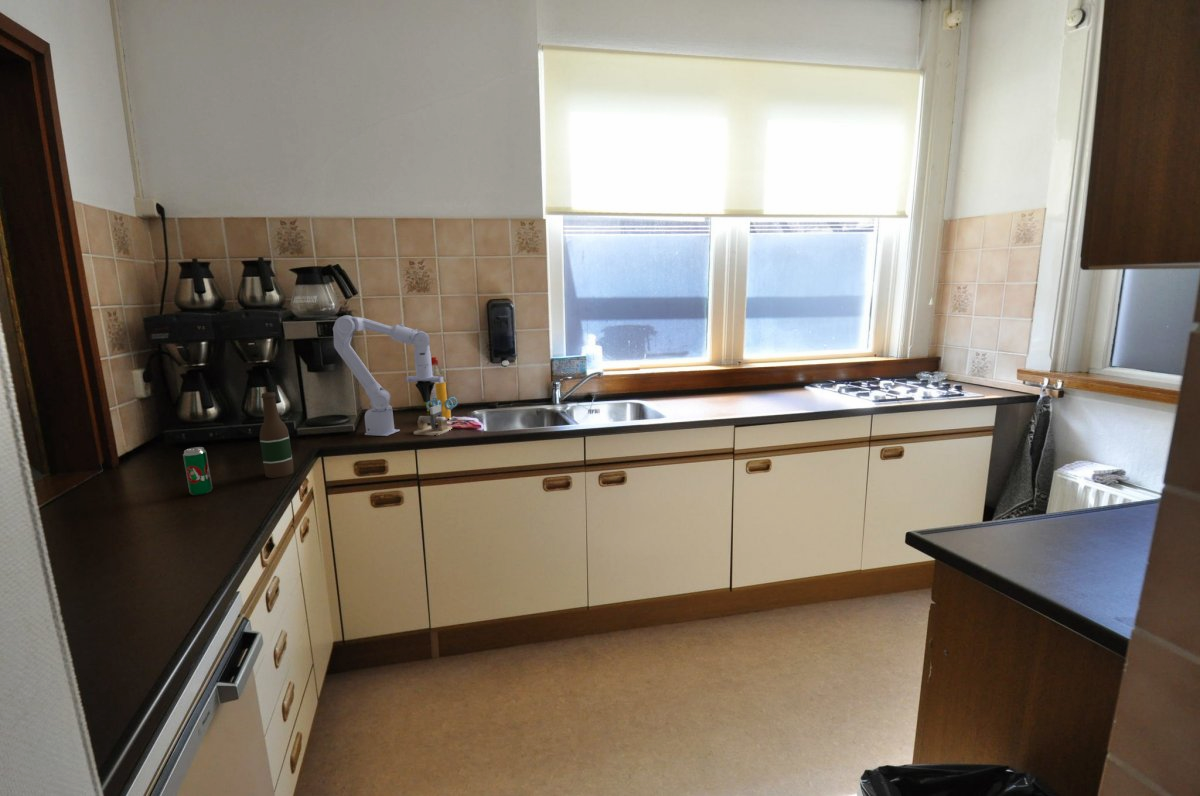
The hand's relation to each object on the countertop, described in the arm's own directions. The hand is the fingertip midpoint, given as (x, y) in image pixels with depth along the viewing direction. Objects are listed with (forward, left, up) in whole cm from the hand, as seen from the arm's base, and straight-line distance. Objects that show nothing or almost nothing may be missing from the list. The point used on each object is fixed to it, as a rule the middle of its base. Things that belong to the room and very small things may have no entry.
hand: (426, 401), depth 215 cm
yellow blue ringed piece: (-3, +14, -11) cm, 18 cm away
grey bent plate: (+6, -4, -9) cm, 11 cm away
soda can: (-21, -73, -11) cm, 77 cm away
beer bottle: (-12, -56, -11) cm, 58 cm away
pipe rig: (+4, -4, -10) cm, 12 cm away
